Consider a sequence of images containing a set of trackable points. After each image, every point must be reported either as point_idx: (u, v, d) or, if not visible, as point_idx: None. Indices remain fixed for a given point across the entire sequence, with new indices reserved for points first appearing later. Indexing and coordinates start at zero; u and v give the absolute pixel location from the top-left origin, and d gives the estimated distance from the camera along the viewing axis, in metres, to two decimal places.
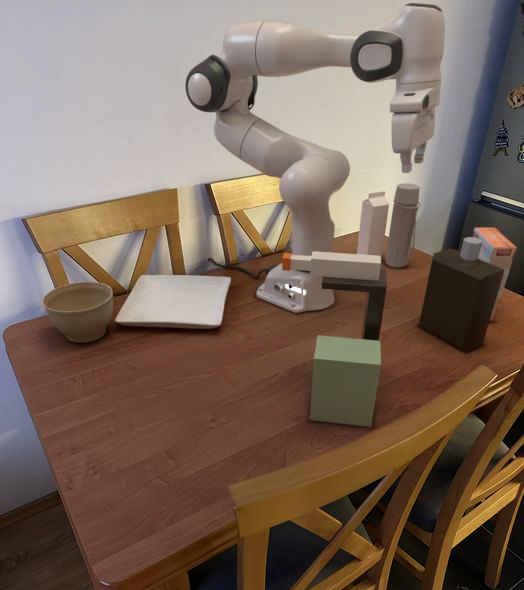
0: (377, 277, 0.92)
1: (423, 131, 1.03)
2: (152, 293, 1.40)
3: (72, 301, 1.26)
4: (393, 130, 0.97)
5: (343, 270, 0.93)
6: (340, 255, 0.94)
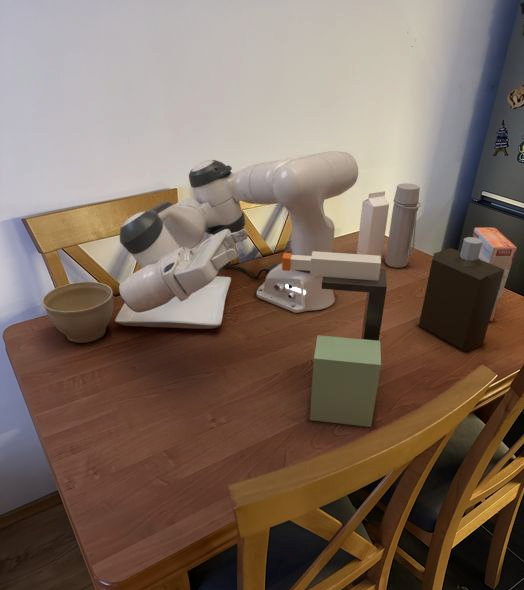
0: (377, 277, 0.92)
1: (206, 249, 0.97)
2: None
3: (72, 301, 1.26)
4: (194, 289, 0.91)
5: (343, 270, 0.93)
6: (340, 255, 0.94)
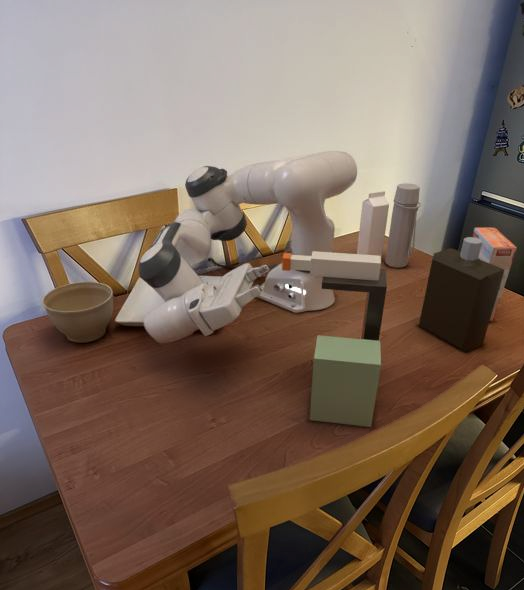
0: (377, 277, 0.92)
1: (229, 285, 1.01)
2: (152, 293, 1.40)
3: (72, 301, 1.26)
4: (219, 326, 0.95)
5: (343, 270, 0.93)
6: (340, 255, 0.94)
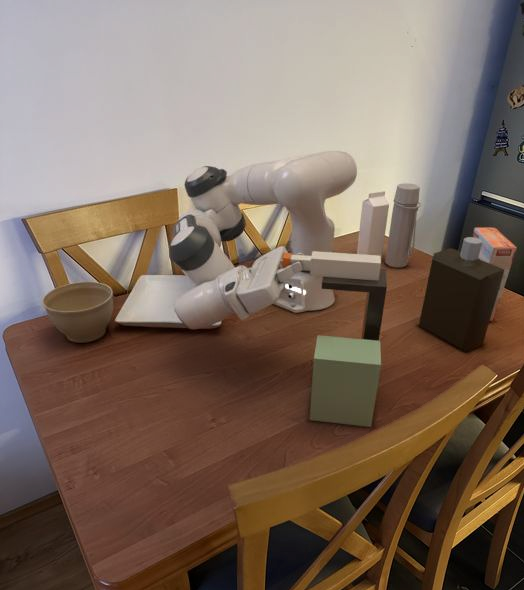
0: (377, 277, 0.92)
1: (265, 268, 0.97)
2: (152, 293, 1.40)
3: (72, 301, 1.26)
4: (258, 309, 0.91)
5: (343, 270, 0.93)
6: (340, 254, 0.94)
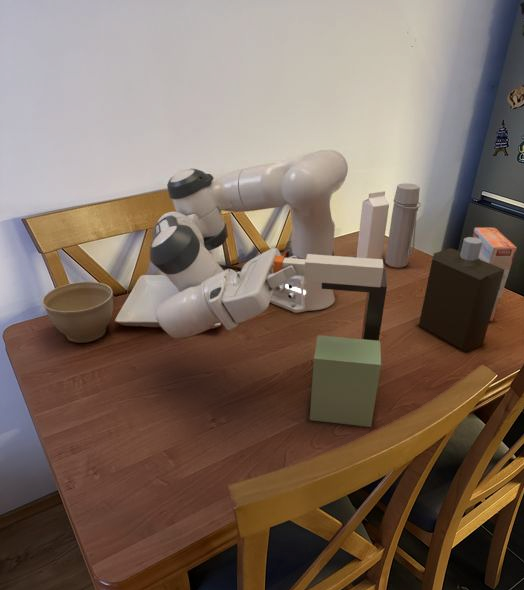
0: (379, 283, 0.83)
1: (255, 272, 0.88)
2: (152, 293, 1.40)
3: (72, 301, 1.26)
4: (245, 318, 0.82)
5: (341, 275, 0.83)
6: (338, 258, 0.84)
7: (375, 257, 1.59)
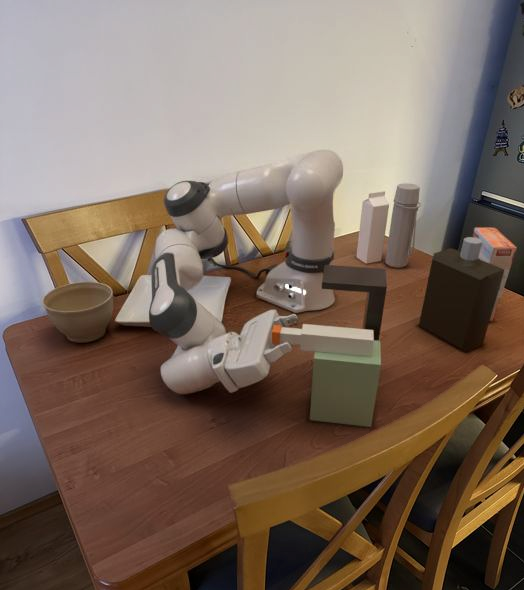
0: (370, 353, 0.89)
1: (255, 337, 0.93)
2: None
3: (72, 301, 1.26)
4: (247, 384, 0.88)
5: (335, 345, 0.89)
6: (332, 329, 0.90)
7: (375, 257, 1.59)
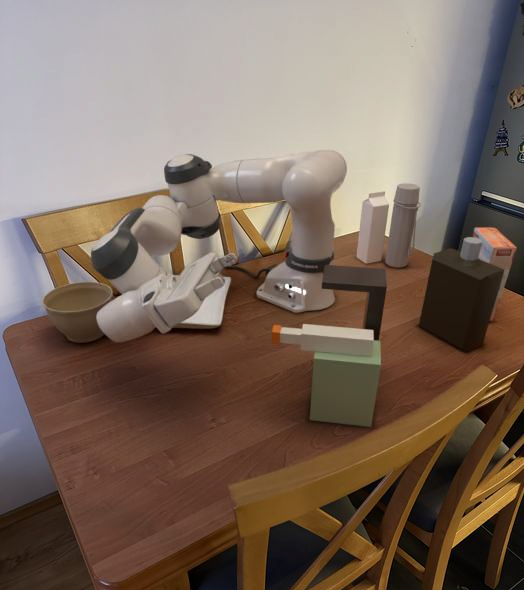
0: (370, 353, 0.89)
1: (190, 276, 0.88)
2: None
3: (72, 301, 1.26)
4: (177, 322, 0.83)
5: (335, 345, 0.89)
6: (332, 329, 0.90)
7: (375, 257, 1.59)
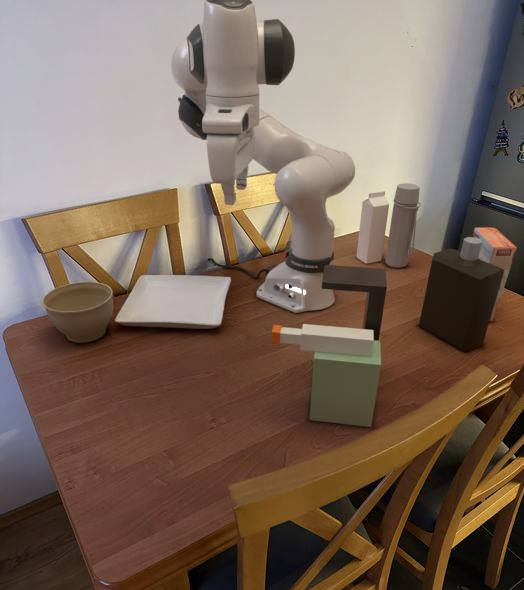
0: (370, 353, 0.89)
1: (244, 154, 0.86)
2: (152, 293, 1.40)
3: (72, 301, 1.26)
4: (209, 155, 0.77)
5: (335, 345, 0.89)
6: (332, 329, 0.90)
7: (375, 257, 1.59)
